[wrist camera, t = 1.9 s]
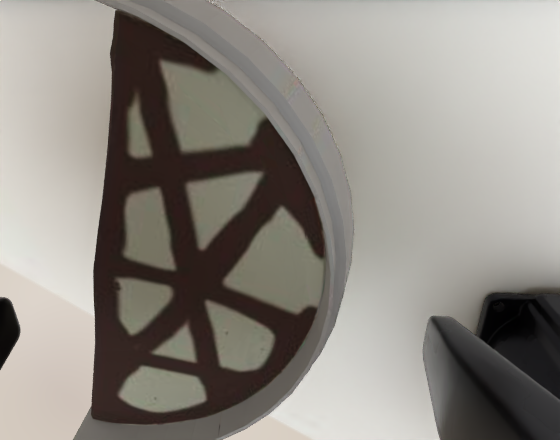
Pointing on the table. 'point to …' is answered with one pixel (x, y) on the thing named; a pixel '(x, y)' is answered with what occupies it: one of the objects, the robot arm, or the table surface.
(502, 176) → the table surface
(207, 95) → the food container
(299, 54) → the table surface
